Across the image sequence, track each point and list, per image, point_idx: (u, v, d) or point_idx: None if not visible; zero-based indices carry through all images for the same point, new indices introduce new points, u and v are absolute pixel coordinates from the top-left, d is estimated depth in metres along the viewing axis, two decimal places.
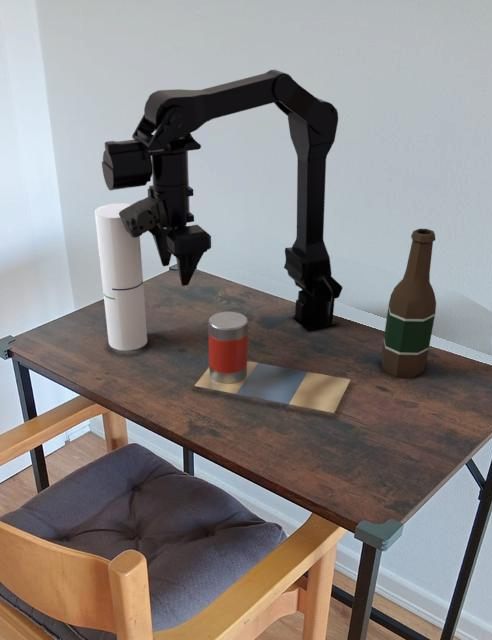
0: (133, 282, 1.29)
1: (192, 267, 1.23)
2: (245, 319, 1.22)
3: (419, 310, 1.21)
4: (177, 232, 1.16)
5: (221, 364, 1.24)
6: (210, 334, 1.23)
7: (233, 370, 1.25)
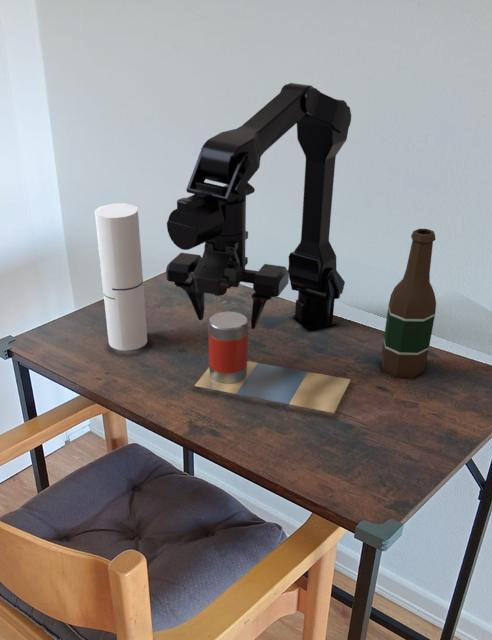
0: (133, 282, 1.29)
1: (262, 307, 1.20)
2: (245, 319, 1.22)
3: (419, 310, 1.21)
4: (267, 275, 1.13)
5: (221, 364, 1.24)
6: (210, 334, 1.23)
7: (233, 370, 1.25)
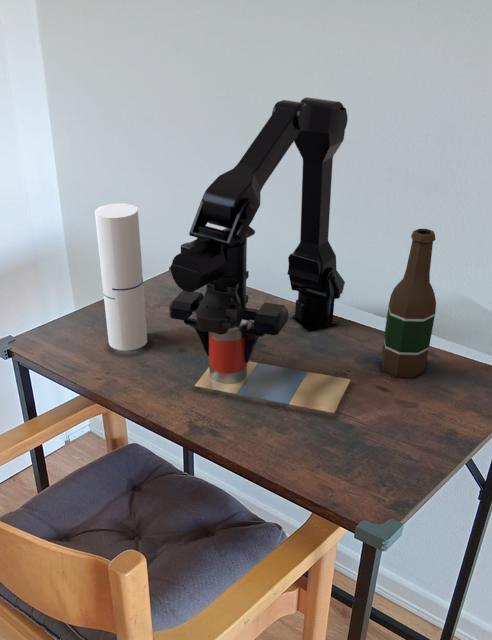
0: (133, 282, 1.29)
1: (256, 342, 1.24)
2: None
3: (419, 310, 1.21)
4: (267, 314, 1.17)
5: (221, 364, 1.24)
6: (210, 334, 1.23)
7: (233, 370, 1.25)
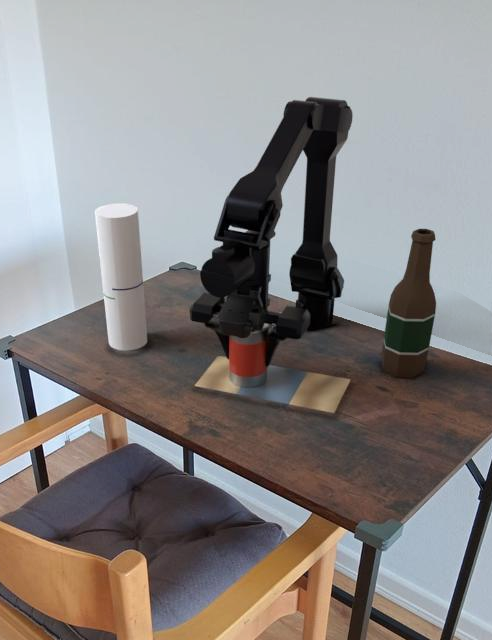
0: (133, 282, 1.29)
1: (277, 346, 1.23)
2: None
3: (419, 310, 1.21)
4: (290, 318, 1.16)
5: (241, 368, 1.23)
6: (231, 337, 1.22)
7: (253, 374, 1.24)
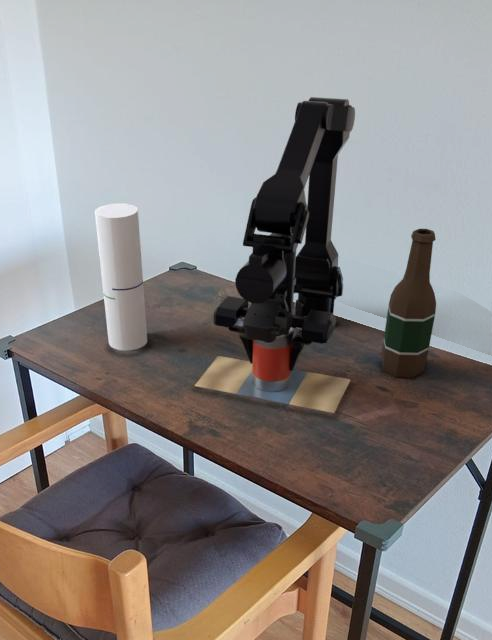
0: (133, 282, 1.29)
1: (301, 350, 1.22)
2: None
3: (419, 310, 1.21)
4: (316, 322, 1.14)
5: (265, 372, 1.22)
6: (255, 342, 1.20)
7: (277, 379, 1.22)
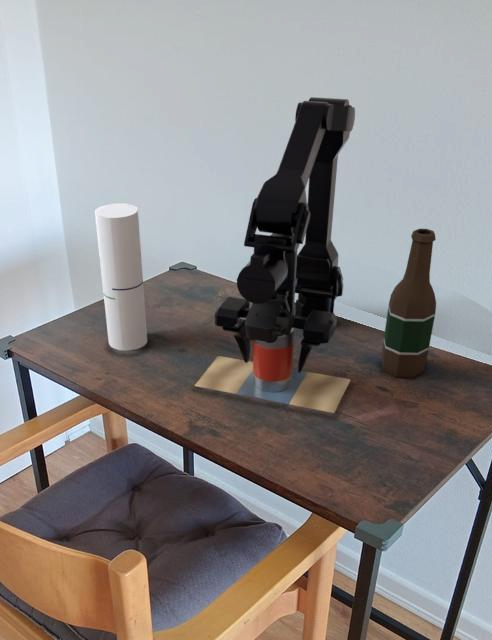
0: (133, 282, 1.29)
1: (309, 351, 1.21)
2: None
3: (419, 310, 1.21)
4: (317, 322, 1.14)
5: (266, 372, 1.22)
6: (256, 342, 1.20)
7: (278, 379, 1.22)
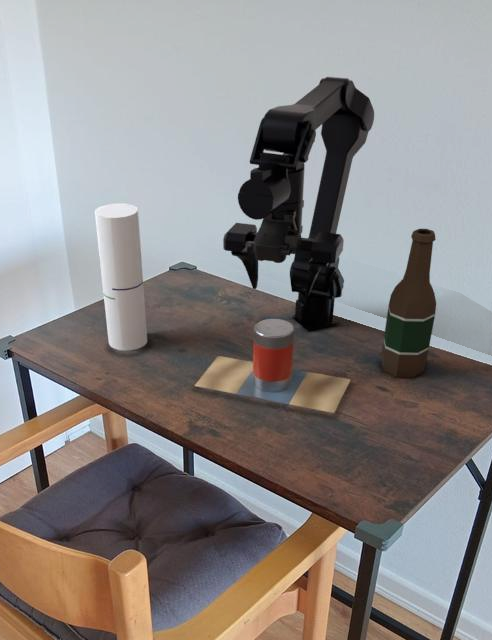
0: (133, 282, 1.29)
1: (316, 275, 1.24)
2: (291, 326, 1.20)
3: (419, 310, 1.21)
4: (324, 242, 1.17)
5: (266, 372, 1.22)
6: (256, 342, 1.20)
7: (278, 379, 1.22)
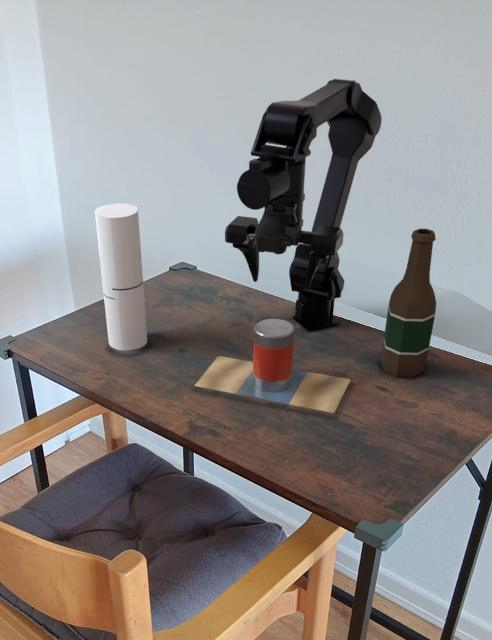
0: (133, 282, 1.29)
1: (316, 268, 1.25)
2: (291, 326, 1.20)
3: (419, 310, 1.21)
4: (324, 235, 1.18)
5: (266, 372, 1.22)
6: (256, 342, 1.20)
7: (278, 379, 1.22)
